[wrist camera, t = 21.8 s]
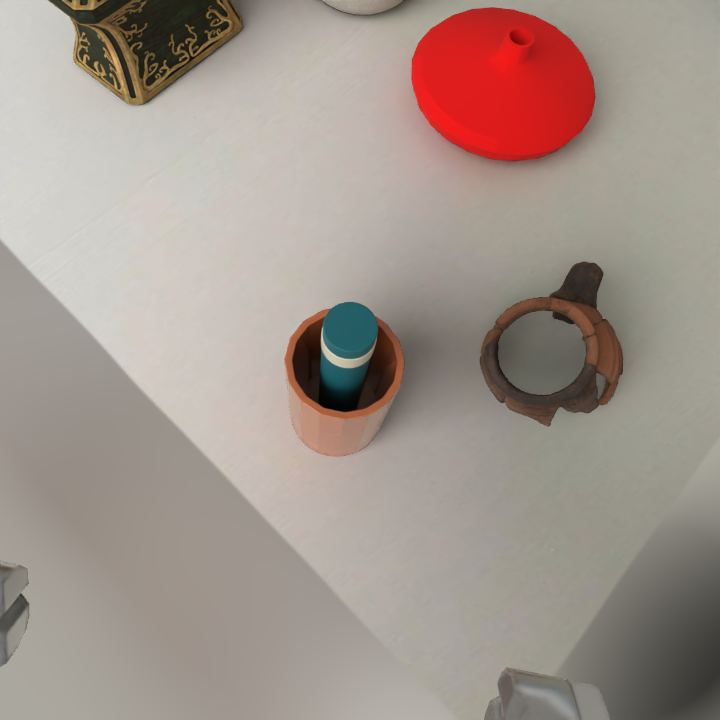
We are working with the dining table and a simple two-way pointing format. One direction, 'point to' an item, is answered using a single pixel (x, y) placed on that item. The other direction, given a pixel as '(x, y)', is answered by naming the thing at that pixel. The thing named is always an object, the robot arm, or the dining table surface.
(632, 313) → the dining table surface
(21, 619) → the robot arm
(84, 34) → the decorative box
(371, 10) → the planter
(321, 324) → the tumbler
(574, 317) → the broken brown pottery vessel
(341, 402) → the teal banded tube
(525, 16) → the red disc with nozzle
